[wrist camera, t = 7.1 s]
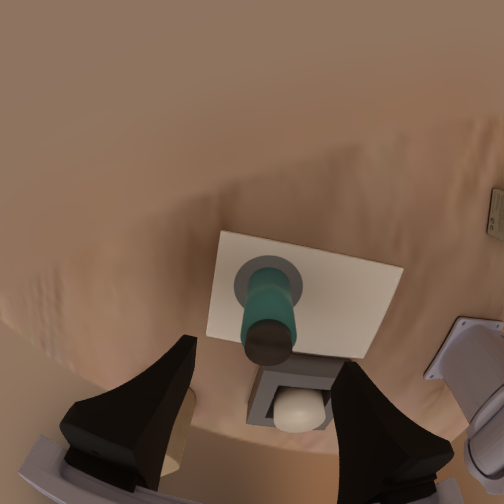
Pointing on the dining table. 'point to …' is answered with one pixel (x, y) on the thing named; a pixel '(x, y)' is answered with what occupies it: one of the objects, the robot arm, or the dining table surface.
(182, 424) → the candle
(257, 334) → the bottle
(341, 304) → the paper
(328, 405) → the button housing
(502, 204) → the skincare box
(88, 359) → the dining table surface
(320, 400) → the button
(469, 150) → the dining table surface
